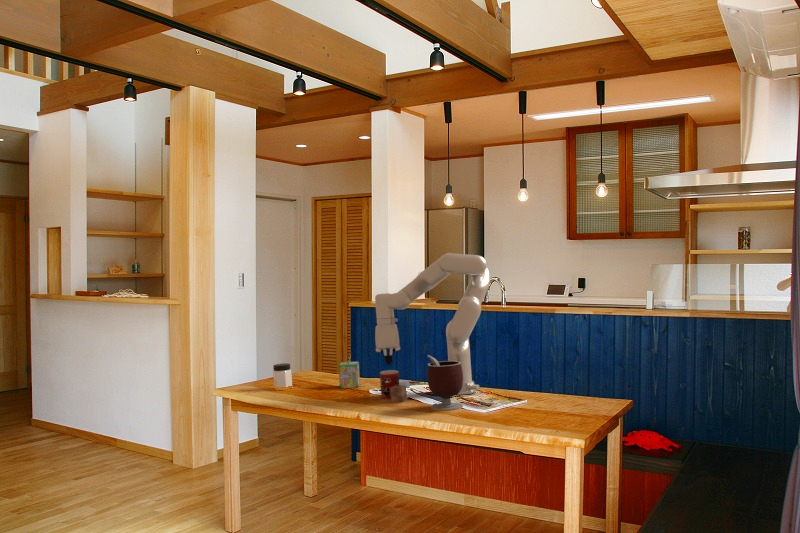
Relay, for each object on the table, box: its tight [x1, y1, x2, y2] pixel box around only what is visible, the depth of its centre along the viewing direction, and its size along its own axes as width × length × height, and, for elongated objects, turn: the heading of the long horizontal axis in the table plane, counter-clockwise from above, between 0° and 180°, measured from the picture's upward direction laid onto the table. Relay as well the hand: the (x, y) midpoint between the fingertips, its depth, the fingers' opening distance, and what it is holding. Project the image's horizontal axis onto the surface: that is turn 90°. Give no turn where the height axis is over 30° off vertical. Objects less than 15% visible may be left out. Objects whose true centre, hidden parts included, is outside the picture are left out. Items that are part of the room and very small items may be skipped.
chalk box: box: [338, 355, 361, 390], centre depth 321 cm, size 9×9×15 cm
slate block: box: [399, 379, 411, 388], centre depth 299 cm, size 6×6×5 cm
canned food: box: [379, 369, 400, 400], centre depth 289 cm, size 8×8×11 cm
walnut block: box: [390, 386, 408, 403], centre depth 279 cm, size 5×5×6 cm
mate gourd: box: [426, 354, 464, 412], centre depth 260 cm, size 16×14×20 cm
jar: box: [272, 362, 293, 387], centre depth 328 cm, size 9×8×12 cm
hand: (389, 364), depth 289 cm, fingers closed
